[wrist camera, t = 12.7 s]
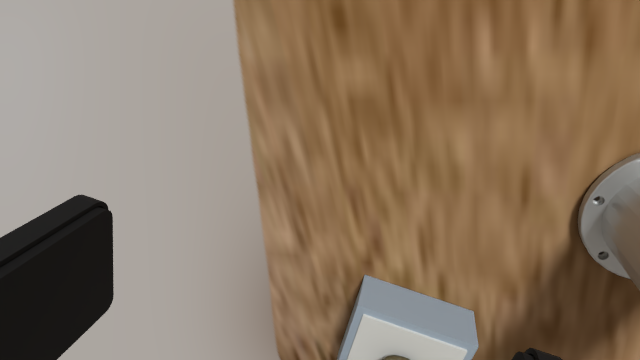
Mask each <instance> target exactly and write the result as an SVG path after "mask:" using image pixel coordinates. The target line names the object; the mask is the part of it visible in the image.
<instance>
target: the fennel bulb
mask: <svg viewBox="0 0 640 360" xmlns="http://www.w3.org/2000/svg"><path fill="white" fill-rule="evenodd" d="M383 360H410V359H408V358H406V357H402V356H398V355H392V356H388V357H386V358H384V359H383Z"/></svg>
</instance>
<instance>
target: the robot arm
mask: <svg viewBox="0 0 640 360" xmlns="http://www.w3.org/2000/svg"><path fill="white" fill-rule="evenodd" d="M595 197H597V198H596V199H594V198H595ZM112 223H113V220H112V213H111V211H109V210H108V206H107V204H106V203H104V202H102V201H99V200H96V199H94V198H91V197H87V196H85V195H77V196H74V197H73V198H71V199H69V200H67V201H66V202H64V203H62V204H60V205H58V206H57V207H55V208H53V209H51V210H50V211H48V212H46V213H44V214H42V215H41V216H39V217H37V218H35V219H33V220H31V221H30V222H28V223H26V224H24V225H23V226H21V227H19V228H17V229H15V230H14V231H12V232H10V233H8V234H7V235H5V236H3V237H1V238H0V360H57V359H58V358H59V357H60V356H61V355H62V354H63V353H64V352H65V351H66V350H67V349H68V348H69V347H70V346H71V345H72V344H73V343H74V342H75V341H76V340H78V338H80V336H82V335H83V334H84V333H85V332H86V331H87V330H88V329H89V328H90V327H91V326H92V325H93V324H94V323H95V322H96V321H97V320H98V319H99V318H100V317H101V316H102V315H103V314H104V313H105V312H106V311H107V310H108V309H109V307H110V305H111V303H112V300H113V225H112ZM578 229H579V234H580V237H581V240H582V242H583V244H584V246H585V247H586V249H587V251H588V252H589V254H590V255H591V256H592V257H593V259H594V260H595V261H596V262H597V263H599V264H600V265H601V266H603V267H604V268H605V269H607V270H608V271H610V272H612V273H614V274H616V275H618V276H621V277H625V278H628V279H631V280H632V281H633V282H634V284H635V285H636V287H637V288H638V289H639V291H640V153H638V154H635V155H632V156H630V157H628V158H626V159H624V160H622V161H620V162H618V163H617V164H615V165H613V166H612V167H611V168H609V169H608V170H607V171H606V172H604V173H603V174H602V175H601V176H600V177H599V178H598V179H597V180H596V181H595V182H594V183H593V184H592V185H591V187H590V188H589V190H588V191H587V193H586V194H585V196H584V198H583V201H582V203H581V206H580V208H579V215H578ZM512 360H562V359H561V358H560V357H557V356H554V355H551V354H548V353H545V352H542V351H539V350H536V349H533V348H529V349H527V350H526V351H525V353H523V352H517V353H516V354H515V355H514V357H513V359H512Z"/></svg>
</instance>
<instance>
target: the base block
mask: <svg viewBox="0 0 640 360" xmlns="http://www.w3.org/2000/svg"><path fill="white" fill-rule="evenodd" d="M477 349H478V339H477V332H476V325H475V318H474V311H471V310H468V309H465V308H462V307H459V306H456V305H453V304H450V303H447V302H444V301H441V300H438V299H435V298H432V297H429V296H426V295H424V294H421V293H418V292H415V291H412V290H409V289H406V288H403V287H400V286H397V285H394V284H391V283H388V282H385V281H382V280H379V279H376V278H373V277H370V276H367V275H365V276H364V279H363V282H362V284H361V287H360V290H359V293H358V296H357V299H356V302H355V305H354V308H353V311H352V314H351V317H350V320H349V323H348V326H347V329H346V331H345V334H344V337H343V340H342V343H341V346H340V349H339V353H338V357H337V360H383V359H384V358H386V357H388V356H392V355H398V356H402V357H406V358H408V359H410V360H471V359H472V358H473V356H474V354H475V352H476V350H477Z"/></svg>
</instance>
